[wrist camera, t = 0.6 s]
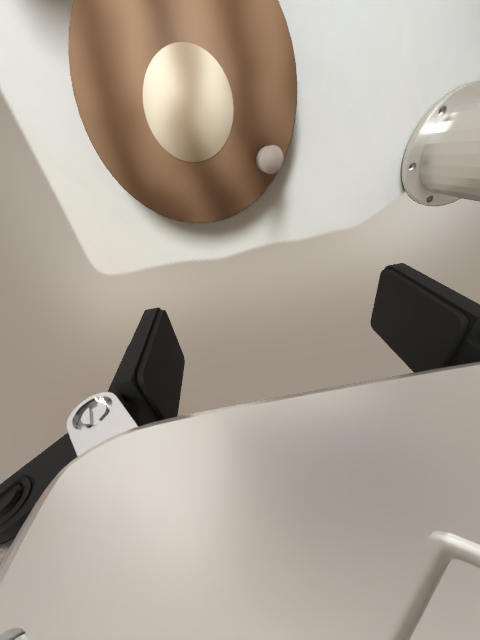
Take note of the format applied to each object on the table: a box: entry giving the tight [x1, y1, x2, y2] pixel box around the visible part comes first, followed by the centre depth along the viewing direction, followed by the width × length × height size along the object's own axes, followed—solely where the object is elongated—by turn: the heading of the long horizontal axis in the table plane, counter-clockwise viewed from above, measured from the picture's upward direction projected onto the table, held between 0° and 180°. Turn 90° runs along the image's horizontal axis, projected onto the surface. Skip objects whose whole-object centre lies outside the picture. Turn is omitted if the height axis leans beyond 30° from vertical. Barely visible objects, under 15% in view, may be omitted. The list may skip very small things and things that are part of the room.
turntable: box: [69, 0, 297, 223], centre depth 23 cm, size 22×22×6 cm
